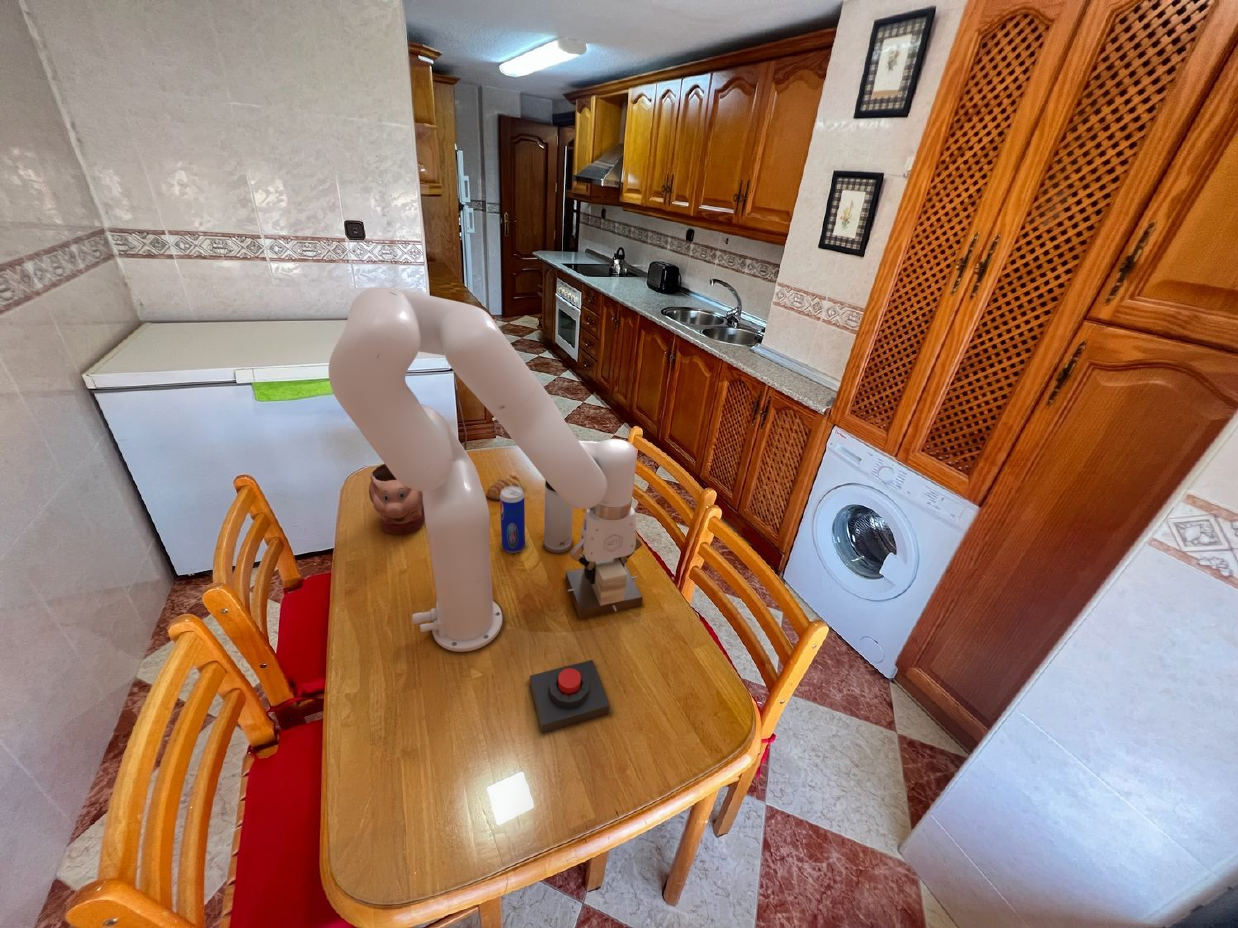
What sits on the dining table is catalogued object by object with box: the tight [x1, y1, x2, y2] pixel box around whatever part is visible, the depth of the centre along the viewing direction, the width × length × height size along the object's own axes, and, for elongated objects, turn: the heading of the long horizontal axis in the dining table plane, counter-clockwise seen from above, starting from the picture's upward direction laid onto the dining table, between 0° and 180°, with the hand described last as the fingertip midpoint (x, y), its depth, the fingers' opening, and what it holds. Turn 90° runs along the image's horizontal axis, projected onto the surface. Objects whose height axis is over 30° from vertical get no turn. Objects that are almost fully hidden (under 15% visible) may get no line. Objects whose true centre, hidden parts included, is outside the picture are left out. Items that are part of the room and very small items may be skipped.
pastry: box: [486, 474, 525, 501], centre depth 129 cm, size 9×7×4 cm
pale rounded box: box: [583, 558, 627, 606], centre depth 100 cm, size 11×5×7 cm, turn 20°
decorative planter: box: [368, 462, 425, 534], centre depth 114 cm, size 20×12×14 cm, turn 23°
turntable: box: [564, 564, 643, 620], centre depth 102 cm, size 15×15×3 cm
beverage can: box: [499, 486, 526, 554], centre depth 109 cm, size 5×5×15 cm
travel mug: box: [543, 479, 574, 554], centre depth 109 cm, size 6×7×20 cm
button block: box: [529, 659, 611, 734], centre depth 81 cm, size 11×9×4 cm
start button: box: [558, 668, 581, 695], centre depth 79 cm, size 4×4×2 cm
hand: (604, 576), depth 100 cm, fingers closed on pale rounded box, 5 cm apart
